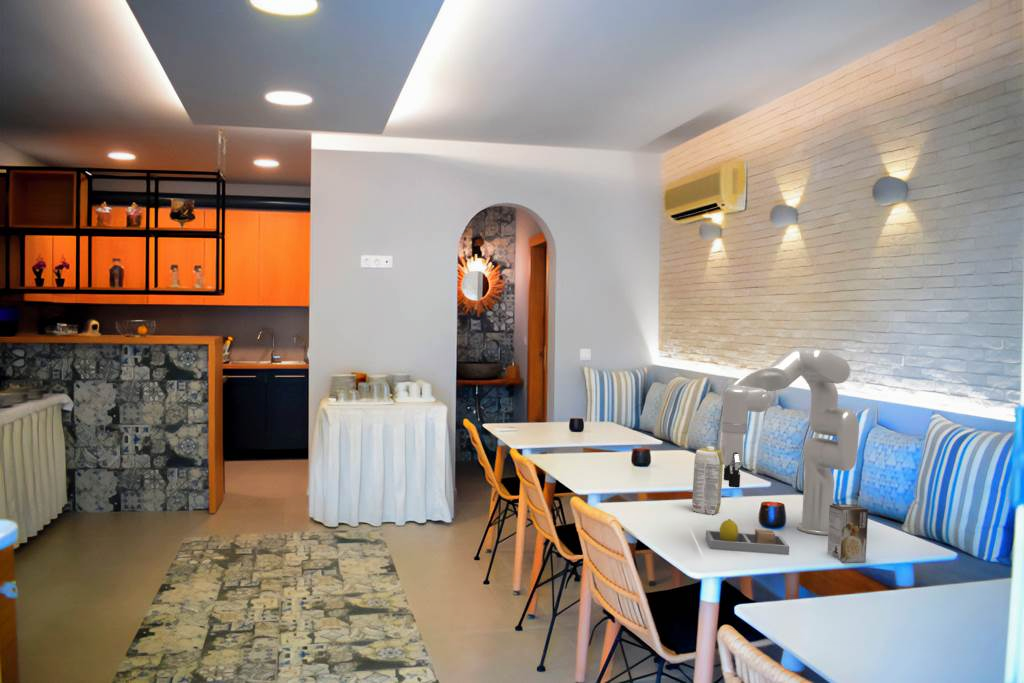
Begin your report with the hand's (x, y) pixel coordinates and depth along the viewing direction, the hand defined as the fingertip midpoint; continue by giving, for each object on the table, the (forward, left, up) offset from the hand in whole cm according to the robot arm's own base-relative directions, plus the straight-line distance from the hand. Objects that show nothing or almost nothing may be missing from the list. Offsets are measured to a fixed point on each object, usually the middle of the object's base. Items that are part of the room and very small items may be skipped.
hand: (731, 483), depth 251 cm
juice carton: (-47, -1, -20) cm, 51 cm away
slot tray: (0, +5, -20) cm, 21 cm away
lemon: (0, 0, -19) cm, 19 cm away
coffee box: (+3, +34, -20) cm, 40 cm away
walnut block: (0, +11, -19) cm, 22 cm away
